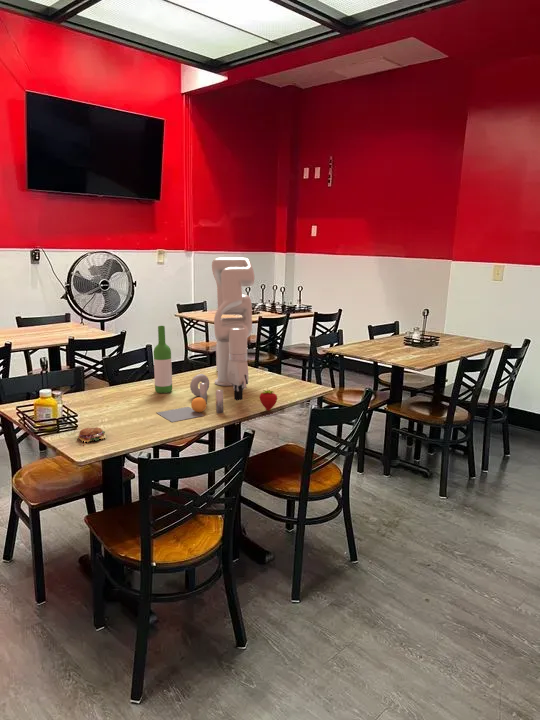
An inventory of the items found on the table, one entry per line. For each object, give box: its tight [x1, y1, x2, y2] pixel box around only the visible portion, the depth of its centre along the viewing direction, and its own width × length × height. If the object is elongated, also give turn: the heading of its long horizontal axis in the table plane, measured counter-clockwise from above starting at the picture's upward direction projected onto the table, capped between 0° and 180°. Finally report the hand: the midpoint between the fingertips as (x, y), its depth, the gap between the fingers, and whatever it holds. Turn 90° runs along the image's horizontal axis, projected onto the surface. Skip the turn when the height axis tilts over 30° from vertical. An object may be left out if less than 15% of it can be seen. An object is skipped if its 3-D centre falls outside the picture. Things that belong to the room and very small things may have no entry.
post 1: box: [199, 382, 208, 406], centre depth 222 cm, size 3×3×9 cm
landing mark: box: [156, 406, 206, 423], centre depth 210 cm, size 14×14×1 cm
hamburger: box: [77, 426, 107, 443], centre depth 181 cm, size 14×14×6 cm
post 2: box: [215, 389, 224, 414], centre depth 211 cm, size 3×3×9 cm
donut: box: [189, 373, 210, 397], centre depth 235 cm, size 10×4×10 cm, turn 138°
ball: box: [190, 396, 207, 413], centre depth 212 cm, size 6×6×6 cm
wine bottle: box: [153, 325, 173, 394], centre depth 240 cm, size 8×8×30 cm
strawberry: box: [259, 389, 278, 412], centre depth 214 cm, size 6×8×10 cm
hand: (238, 399), depth 225 cm, fingers closed
